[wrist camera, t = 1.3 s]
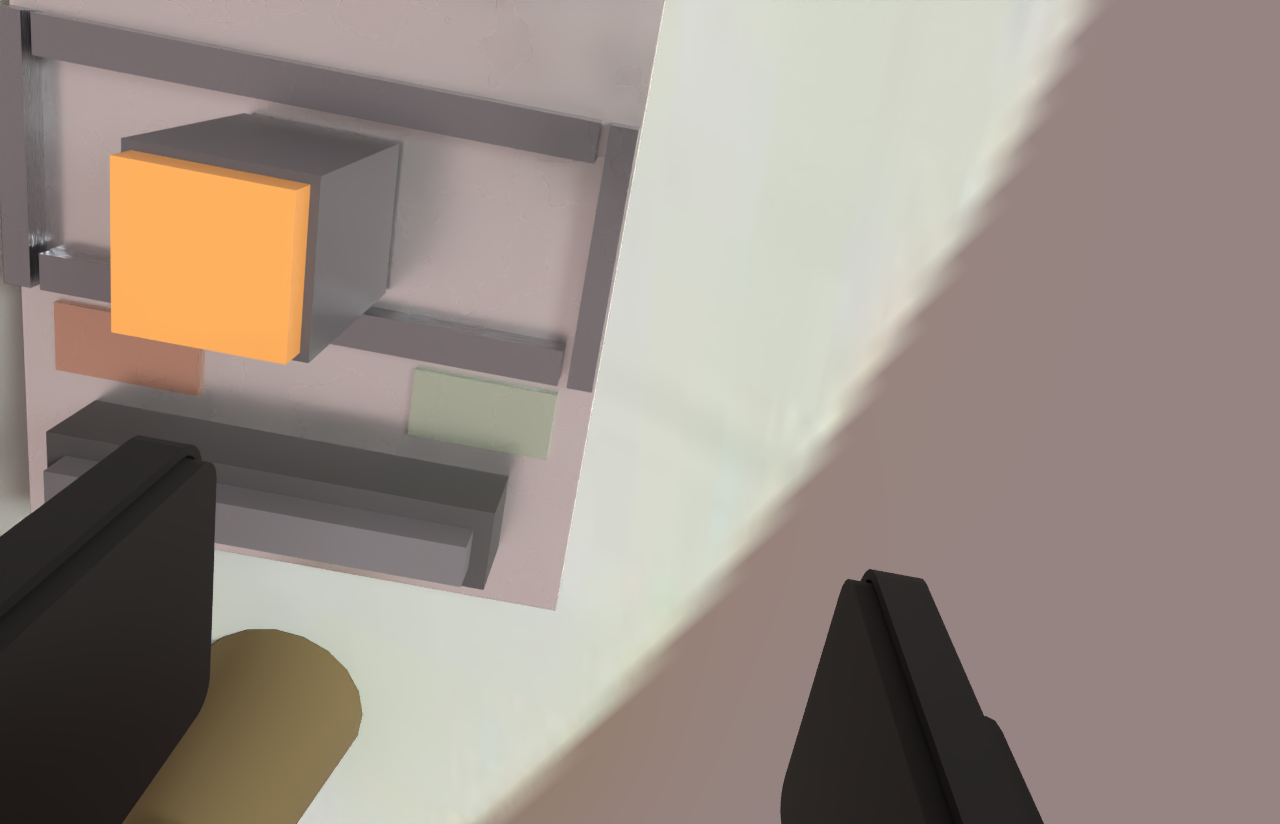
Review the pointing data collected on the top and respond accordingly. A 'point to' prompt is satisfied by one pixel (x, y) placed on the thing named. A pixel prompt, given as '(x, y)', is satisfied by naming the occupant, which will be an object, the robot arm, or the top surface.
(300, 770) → the cork
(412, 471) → the long gray rail
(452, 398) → the panel
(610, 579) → the top surface
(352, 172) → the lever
